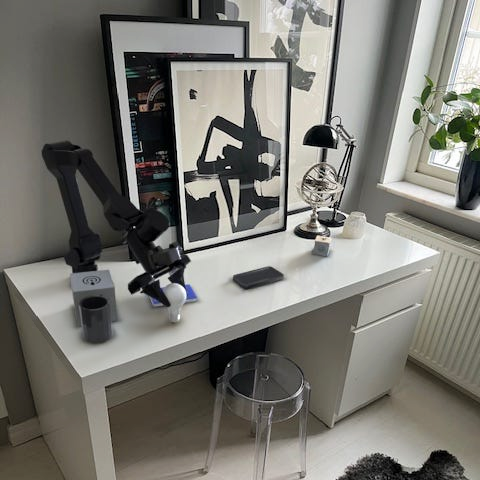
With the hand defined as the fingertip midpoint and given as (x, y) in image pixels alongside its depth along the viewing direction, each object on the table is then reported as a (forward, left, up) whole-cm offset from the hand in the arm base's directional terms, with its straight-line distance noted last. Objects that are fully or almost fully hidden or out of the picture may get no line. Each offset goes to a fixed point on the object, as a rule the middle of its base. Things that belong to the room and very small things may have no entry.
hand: (178, 301), depth 128 cm
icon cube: (-22, +6, -7) cm, 23 cm away
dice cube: (+52, +43, -7) cm, 68 cm away
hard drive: (-1, +14, -7) cm, 15 cm away
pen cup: (-20, -4, -7) cm, 22 cm away
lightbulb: (-1, +1, -7) cm, 7 cm away
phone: (+26, +24, -7) cm, 36 cm away
